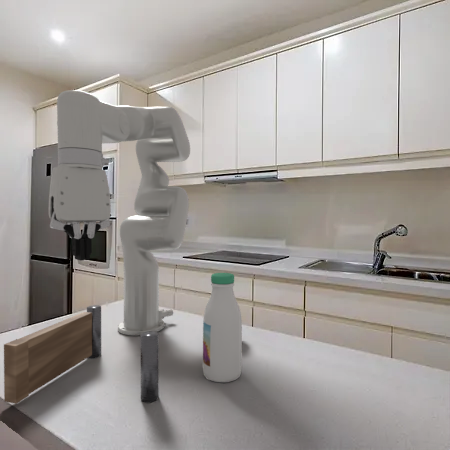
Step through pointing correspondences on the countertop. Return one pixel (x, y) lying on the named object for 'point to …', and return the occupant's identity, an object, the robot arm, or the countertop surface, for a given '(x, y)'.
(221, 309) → the milk bottle
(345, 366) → the countertop surface
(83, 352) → the walnut gate
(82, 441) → the countertop surface
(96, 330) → the hinge post
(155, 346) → the post
